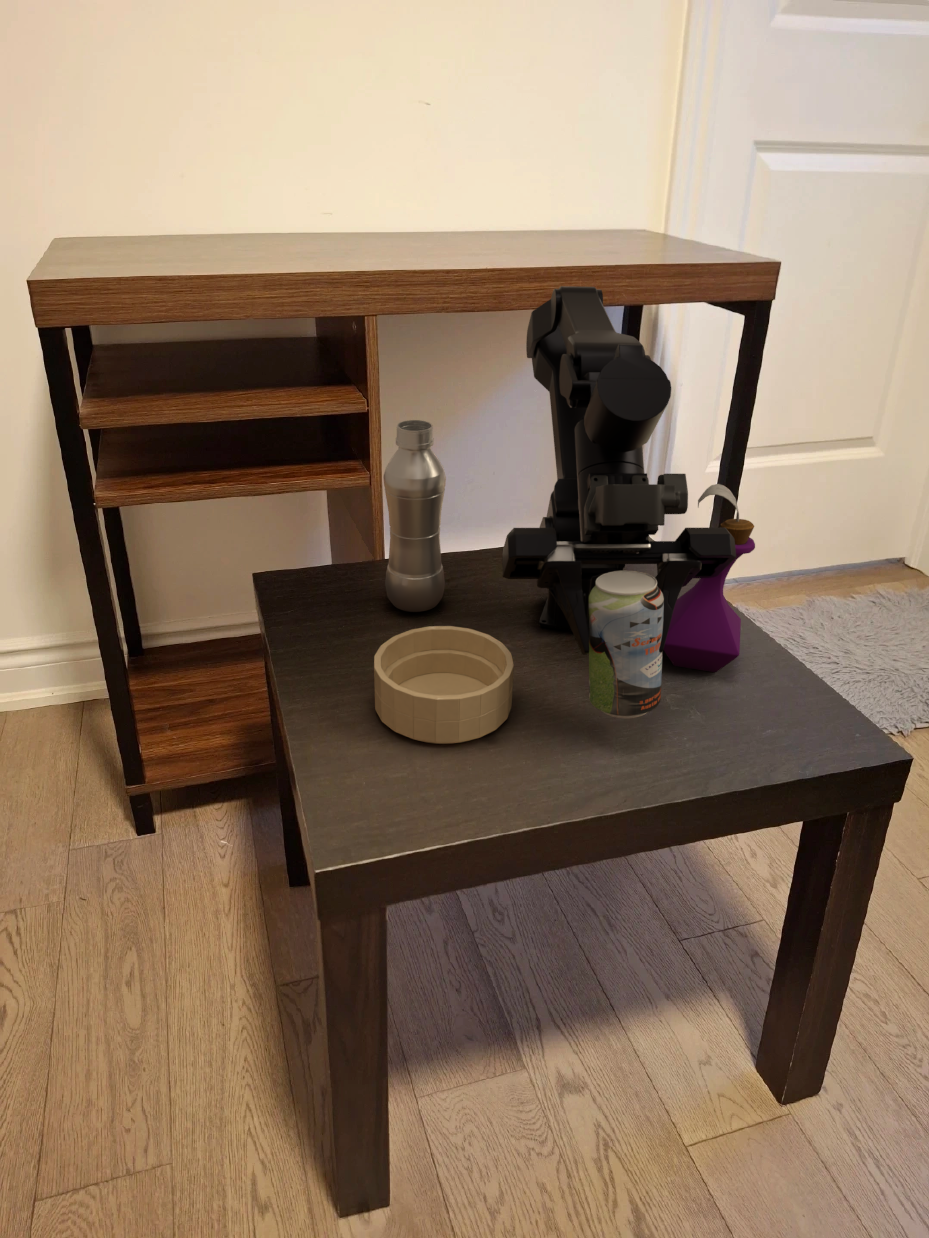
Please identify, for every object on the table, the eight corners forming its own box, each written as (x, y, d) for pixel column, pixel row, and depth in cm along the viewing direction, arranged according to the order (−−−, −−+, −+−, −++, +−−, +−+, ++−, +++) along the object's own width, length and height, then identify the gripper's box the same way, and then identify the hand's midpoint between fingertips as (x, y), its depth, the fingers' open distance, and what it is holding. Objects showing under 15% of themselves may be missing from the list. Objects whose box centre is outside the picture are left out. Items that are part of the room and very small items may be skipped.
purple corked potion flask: (735, 646, 96) (767, 479, 87) (733, 684, 89) (767, 508, 81) (661, 635, 97) (685, 470, 89) (654, 671, 91) (679, 498, 82)
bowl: (398, 663, 91) (398, 618, 89) (522, 681, 89) (524, 636, 87) (356, 734, 81) (354, 686, 79) (494, 758, 79) (496, 708, 76)
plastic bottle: (445, 591, 105) (448, 416, 95) (443, 620, 99) (446, 437, 89) (388, 589, 105) (385, 414, 95) (382, 619, 99) (378, 435, 89)
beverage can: (641, 737, 77) (665, 610, 71) (561, 706, 80) (577, 582, 74) (669, 702, 82) (694, 580, 76) (593, 674, 85) (610, 555, 79)
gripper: (512, 433, 72) (519, 629, 68) (749, 434, 73) (770, 627, 69) (499, 490, 83) (504, 662, 79) (706, 490, 84) (722, 660, 80)
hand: (622, 653), depth 77 cm, fingers closed on beverage can, 6 cm apart
